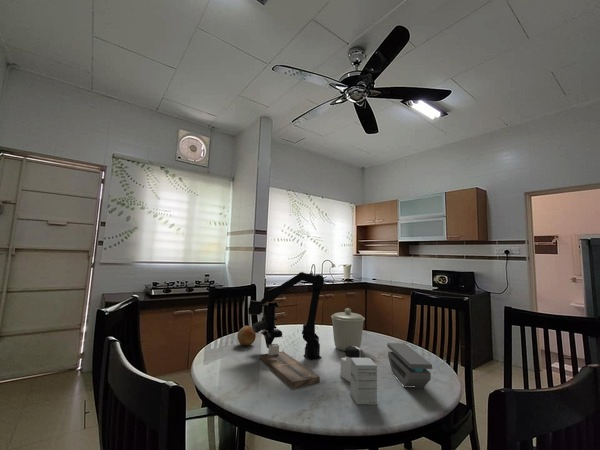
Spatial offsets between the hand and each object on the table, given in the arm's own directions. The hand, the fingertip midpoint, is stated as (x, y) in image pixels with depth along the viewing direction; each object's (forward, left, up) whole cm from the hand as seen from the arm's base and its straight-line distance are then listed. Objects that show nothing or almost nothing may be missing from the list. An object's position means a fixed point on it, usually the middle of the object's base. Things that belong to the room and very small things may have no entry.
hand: (268, 348), depth 138 cm
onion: (+5, -18, -3) cm, 19 cm away
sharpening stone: (-39, +51, -3) cm, 64 cm away
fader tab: (0, +6, -1) cm, 6 cm away
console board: (0, +20, -3) cm, 21 cm away
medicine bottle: (-20, +39, -3) cm, 44 cm away
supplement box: (-12, +54, -3) cm, 56 cm away
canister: (-42, +9, -3) cm, 43 cm away
